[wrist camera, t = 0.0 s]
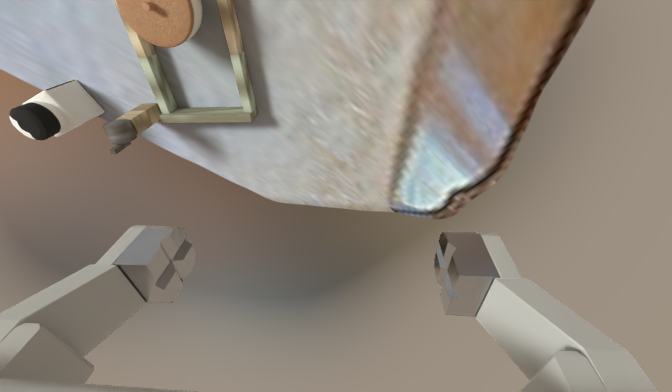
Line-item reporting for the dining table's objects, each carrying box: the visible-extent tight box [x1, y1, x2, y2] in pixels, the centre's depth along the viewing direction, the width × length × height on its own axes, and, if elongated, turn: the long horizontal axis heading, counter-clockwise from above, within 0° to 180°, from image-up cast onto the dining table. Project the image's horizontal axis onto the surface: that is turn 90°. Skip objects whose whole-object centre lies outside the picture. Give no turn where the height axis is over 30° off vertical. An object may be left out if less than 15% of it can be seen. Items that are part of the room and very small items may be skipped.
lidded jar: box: [116, 0, 203, 48], centre depth 43 cm, size 11×11×9 cm
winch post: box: [103, 103, 161, 154], centre depth 53 cm, size 4×4×14 cm
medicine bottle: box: [10, 80, 105, 140], centre depth 54 cm, size 7×7×12 cm
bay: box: [114, 0, 258, 123], centre depth 49 cm, size 24×18×4 cm
